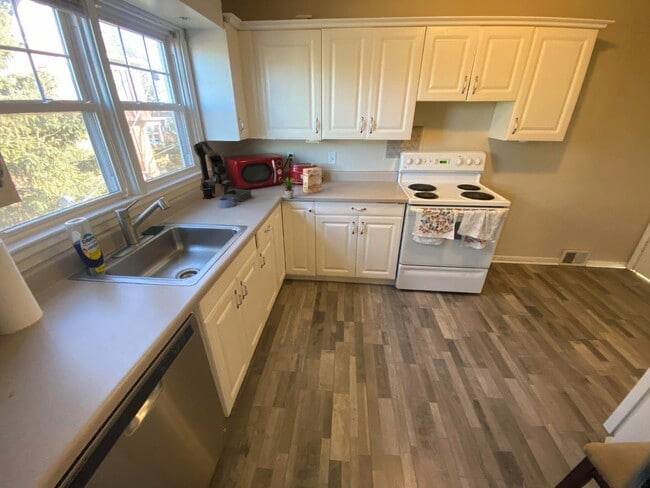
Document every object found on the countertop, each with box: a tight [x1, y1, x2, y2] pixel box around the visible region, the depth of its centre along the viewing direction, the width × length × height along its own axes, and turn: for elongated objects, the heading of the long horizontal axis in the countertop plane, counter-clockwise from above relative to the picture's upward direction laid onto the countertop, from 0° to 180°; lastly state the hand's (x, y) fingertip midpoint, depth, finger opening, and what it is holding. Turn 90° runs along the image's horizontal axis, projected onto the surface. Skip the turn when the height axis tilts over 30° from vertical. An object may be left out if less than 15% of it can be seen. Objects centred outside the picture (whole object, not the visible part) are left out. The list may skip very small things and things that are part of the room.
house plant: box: [282, 177, 298, 200], centre depth 216 cm, size 14×14×16 cm
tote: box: [221, 188, 252, 203], centre depth 217 cm, size 16×16×5 cm
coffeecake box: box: [302, 166, 323, 195], centre depth 235 cm, size 15×7×20 cm, turn 129°
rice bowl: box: [218, 196, 235, 209], centre depth 199 cm, size 10×10×5 cm
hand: (219, 194), depth 198 cm, fingers open, 9 cm apart
